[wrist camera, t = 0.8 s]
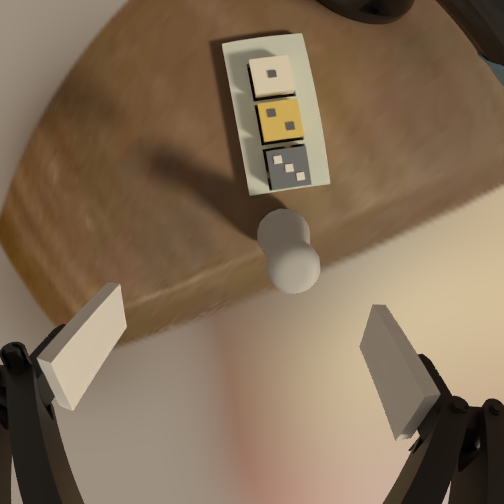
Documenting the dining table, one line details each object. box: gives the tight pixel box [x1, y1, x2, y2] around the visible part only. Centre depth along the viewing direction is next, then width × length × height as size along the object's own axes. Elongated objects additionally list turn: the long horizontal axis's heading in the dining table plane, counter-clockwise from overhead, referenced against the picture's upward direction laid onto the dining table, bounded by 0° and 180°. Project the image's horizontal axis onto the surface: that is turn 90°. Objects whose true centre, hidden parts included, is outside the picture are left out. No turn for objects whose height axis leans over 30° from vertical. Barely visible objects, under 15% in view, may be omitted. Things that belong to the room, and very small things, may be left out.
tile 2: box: [258, 99, 304, 142], centre depth 28 cm, size 4×4×2 cm
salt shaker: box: [257, 209, 320, 293], centre depth 28 cm, size 6×6×13 cm
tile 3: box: [266, 146, 312, 190], centre depth 29 cm, size 4×4×2 cm
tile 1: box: [249, 55, 295, 98], centre depth 26 cm, size 4×4×2 cm
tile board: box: [222, 33, 330, 196], centre depth 29 cm, size 18×9×2 cm, turn 10°
